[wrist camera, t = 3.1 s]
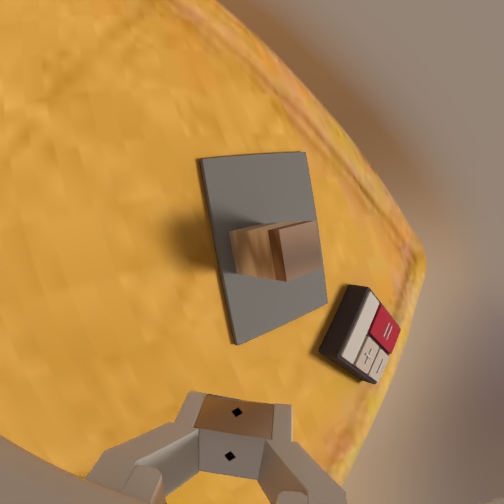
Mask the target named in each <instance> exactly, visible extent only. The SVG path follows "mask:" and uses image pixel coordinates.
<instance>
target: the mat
mask: <svg viewBox="0 0 504 504" xmlns="http://www.w3.org/2000/svg"><path fill="white" fill-rule="evenodd" d="M200 164H201V170H202V176H203V182H204V188H205V194H206V199H207V205H208V211H209V216H210V222H211V227H212V232H213V238H214V243H215V249H216V254H217V259H218V264H219V269H220V274H221V280H222V285H223V290H224V295H225V300H226V304H227V309H228V314H229V319H230V324H231V329H232V333H233V338H234V343H235V345H237V346H238V345H240V344H243V343H245V342H247V341H249V340H252V339H254V338H256V337H258V336H260V335H263V334H265V333H267V332H269V331H271V330H274V329H276V328H278V327H280V326H282V325H284V324H286V323H288V322H291V321H293V320H295V319H297V318H299V317H301V316H303V315H305V314H307V313H309V312H311V311H313V310H315V309H317V308H319V307H321V306H323V305H325V304H327V303H328V300H327V292H326V283H325V275H324V267H323V259H322V252H321V244H320V237H319V230H318V224H317V217H316V210H315V204H314V198H313V192H312V186H311V180H310V174H309V168H308V163H307V157H306V152H290V153H270V154H254V155H240V156H228V157H217V158H206V159H201V160H200ZM299 221H316V226H317V233H318V240H319V247H320V254H321V262H322V268H321V269H319V270H316V271H314V272H311V273H309V274H306V275H304V276H301V277H298V278H296V279H293V280H291V281H288V282H285V281H278V280H272V279H265V278H259V277H253V276H246V275H240V274H236V269H235V263H234V258H233V252H232V247H231V241H230V236H229V231H233V230H238V229H242V228H246V227H251V226H255V225H259V224H265V223H281V222H299Z"/></svg>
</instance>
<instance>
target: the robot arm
mask: <svg viewBox="0 0 504 504" xmlns="http://www.w3.org/2000/svg"><path fill="white" fill-rule="evenodd" d="M199 471H204V472H210V473H216V474H223V475H230V476H235V477H241V478H248V479H254V480H258V483H259V485H260V486H261V488H262V490H263V491H264V493H265V495H266V496H267V498H268V500H269V501H270V503H271V504H347V500H346V492H345V491H344V490H343V489H342V488H341V487H340V486H339V485H338V484H337V483H336V482H335V481H334V480H333V479H332V478H331V477H330V476H329V475H328V474H327V473H326V472H325V471H324V470H323V469H322V468H321V467H320V466H319V465H318V464H317V462H316V461H315V460H314V459H313V458H312V457H311V456H310V455H309V454H308V453H307V452H306V451H305V450H304V449H303V448H302V447H301V445H300V444H299V443H298V442H292V406H291V405H287V404H269V403H261V402H253V401H245V400H239V399H234V398H228V397H222V396H217V395H212V394H206V393H201V392H196V391H190V392H189V393H188V394H187V397H186V399H185V401H184V403H183V405H182V407H181V409H180V411H179V413H178V415H177V417H176V420H175V422H174V423H170V422H168V423H166V424H164V425H162V426H160V427H158V428H156V429H154V430H151V431H149V432H147V433H145V434H143V435H140V436H138V437H136V438H134V439H131V440H129V441H127V442H125V443H122V444H120V445H118V446H115V447H113V448H110V449H108V450H106V451H104V452H103V454H102V455H101V457H100V458H99V460H98V461H97V463H96V464H95V466H94V467H93V469H92V470H91V472H90V473H89V475H88V476H87V478H86V479H83V478H81V477H79V476H77V475H74V474H72V473H70V472H68V471H66V470H64V469H61V468H59V467H57V466H55V465H53V464H51V463H49V462H47V461H45V460H43V459H42V458H40V457H38V456H36V455H34V454H32V453H30V452H29V451H27V450H25V449H23V448H22V447H20V446H18V445H17V444H15V443H13V442H12V441H10V440H8V439H7V438H5V437H3V436H2V435H0V504H166V500H165V497H166V496H167V495H168V494H170V493H171V492H173V491H174V490H175V489H177V488H178V487H180V486H181V485H182V484H184V483H185V482H186V481H188V480H189V479H190V478H192V477H193V476H194V475H196V474H197V473H198V472H199ZM480 504H504V496H501V497H499V498H496V499H493V500H490V501H487V502H483V503H480Z"/></svg>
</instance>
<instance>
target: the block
mask: <svg viewBox="0 0 504 504" xmlns="http://www.w3.org/2000/svg"><path fill="white" fill-rule="evenodd" d="M229 236H230V241H231V247H232V252H233V258H234V263H235V269H236V274H240V275H246V276H253V277H259V278H265V279H272V280H278V281H285V282H288V281H291V280H293V279H296V278H298V277H301V276H304V275H306V274H309V273H311V272H314V271H316V270H319V269H321V268H322V262H321V254H320V247H319V240H318V233H317V226H316V221H299V222H281V223H265V224H259V225H255V226H251V227H246V228H242V229H238V230H233V231H229Z"/></svg>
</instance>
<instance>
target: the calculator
mask: <svg viewBox="0 0 504 504" xmlns="http://www.w3.org/2000/svg"><path fill="white" fill-rule="evenodd" d="M400 330H401V329H400V328H399V326H398V324H397V323H396V322H395V320H394V319H393V318H392V317H391V315H390V314H389V313H388V311H387V310H386V309H385V307H384V306H383V305H382V303H381V302H380V301H379V300H378V298H377V297H376V296H375V295H374V293H373V292H372V291H371V289H370V288H369V287H364V286H357V285H349V286H348V288H347V291H346V293H345V295H344V297H343V300H342V302H341V304H340V306H339V308H338V310H337V313H336V315H335V317H334V319H333V321H332V323H331V325H330V328H329V330H328V332H327V334H326V336H325V338H324V340H323V342H322V344H321V346H320V348H319V352H320V353H322V354H323V355H325V356H326V357H328V358H329V359H331V360H332V361H334V362H336V363H337V364H339V365H340V366H342V367H343V368H345V369H346V370H348V371H349V372H350V373H352V374H354V375H355V376H357V377H358V378H360V379H361V380H363V381H366V382H369V383H372V384H376V383H377V382H379V380H380V378H381V376H382V374H383V372H384V369H385V367H386V365H387V362H388V360H389V353H390V354H391V353H392V351H393V348H394V346H395V343H396V341H397V338H398V336H399V333H400Z"/></svg>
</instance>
